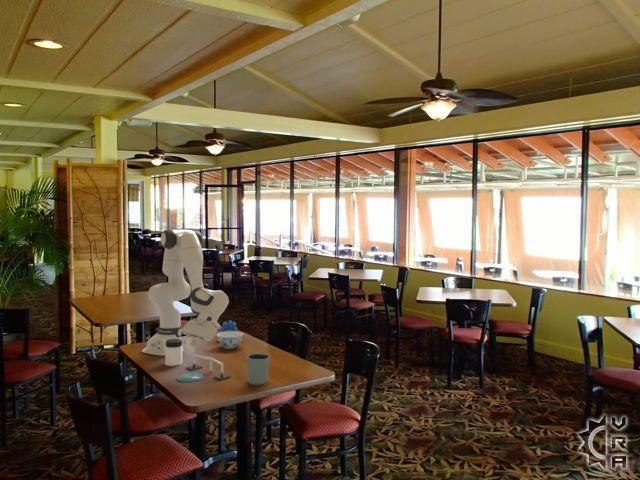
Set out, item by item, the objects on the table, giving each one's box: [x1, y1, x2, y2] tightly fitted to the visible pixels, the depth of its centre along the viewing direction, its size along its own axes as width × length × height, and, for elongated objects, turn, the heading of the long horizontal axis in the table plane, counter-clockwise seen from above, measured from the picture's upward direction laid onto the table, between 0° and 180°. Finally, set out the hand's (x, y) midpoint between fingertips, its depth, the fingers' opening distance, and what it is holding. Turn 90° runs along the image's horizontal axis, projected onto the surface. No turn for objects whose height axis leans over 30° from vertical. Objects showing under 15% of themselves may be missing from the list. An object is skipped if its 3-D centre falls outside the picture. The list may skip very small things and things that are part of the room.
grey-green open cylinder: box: [246, 352, 270, 386], centre depth 232 cm, size 10×10×12 cm
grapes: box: [218, 319, 238, 333], centre depth 309 cm, size 12×7×12 cm, turn 116°
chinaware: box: [216, 330, 244, 350], centre depth 292 cm, size 15×15×8 cm
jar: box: [164, 338, 183, 367], centre depth 259 cm, size 9×8×12 cm
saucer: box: [176, 372, 204, 383], centre depth 236 cm, size 12×12×1 cm
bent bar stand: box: [185, 354, 231, 382], centre depth 244 cm, size 27×6×7 cm, turn 50°
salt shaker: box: [185, 335, 196, 357], centre depth 236 cm, size 4×4×9 cm
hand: (189, 344), depth 235 cm, fingers closed on salt shaker, 4 cm apart
